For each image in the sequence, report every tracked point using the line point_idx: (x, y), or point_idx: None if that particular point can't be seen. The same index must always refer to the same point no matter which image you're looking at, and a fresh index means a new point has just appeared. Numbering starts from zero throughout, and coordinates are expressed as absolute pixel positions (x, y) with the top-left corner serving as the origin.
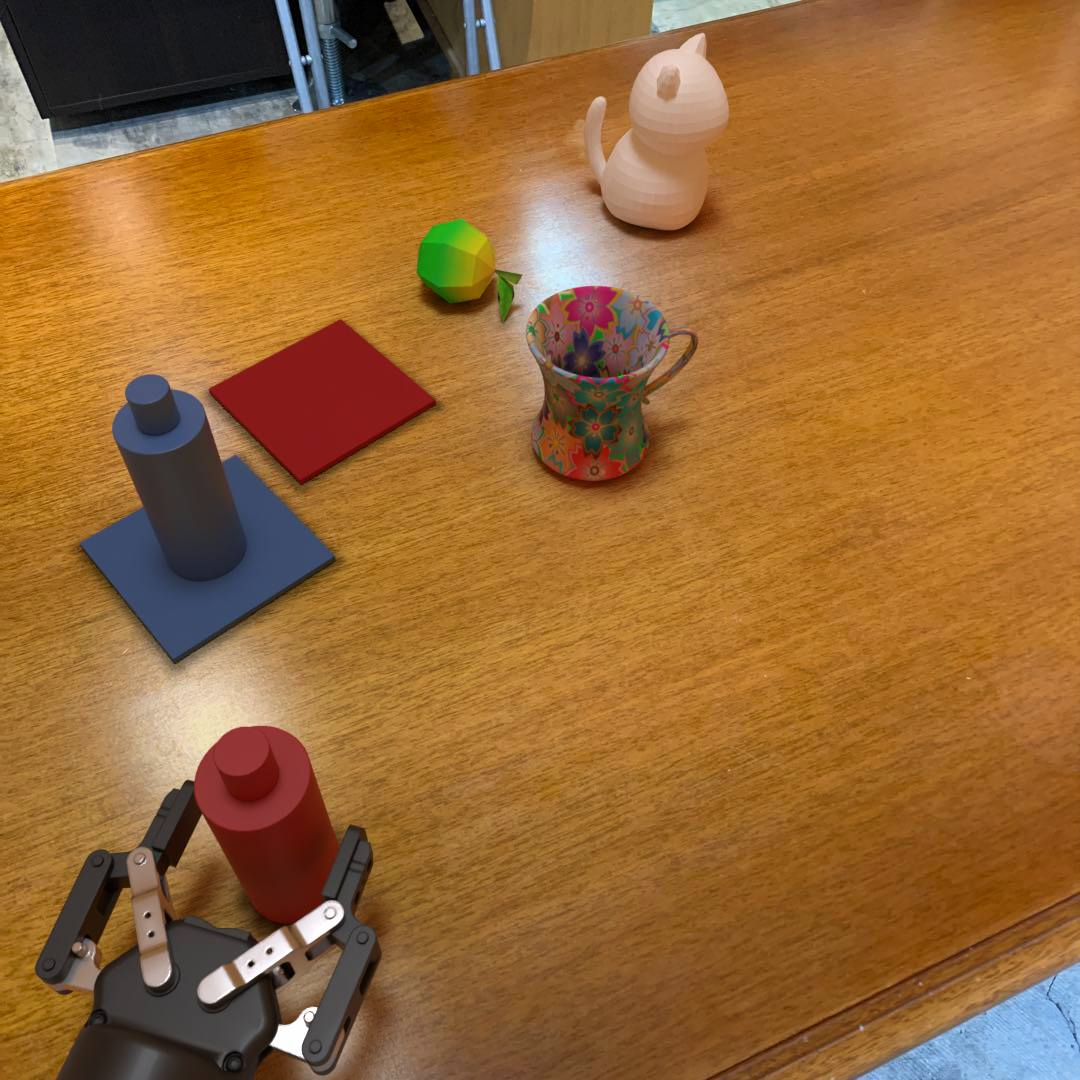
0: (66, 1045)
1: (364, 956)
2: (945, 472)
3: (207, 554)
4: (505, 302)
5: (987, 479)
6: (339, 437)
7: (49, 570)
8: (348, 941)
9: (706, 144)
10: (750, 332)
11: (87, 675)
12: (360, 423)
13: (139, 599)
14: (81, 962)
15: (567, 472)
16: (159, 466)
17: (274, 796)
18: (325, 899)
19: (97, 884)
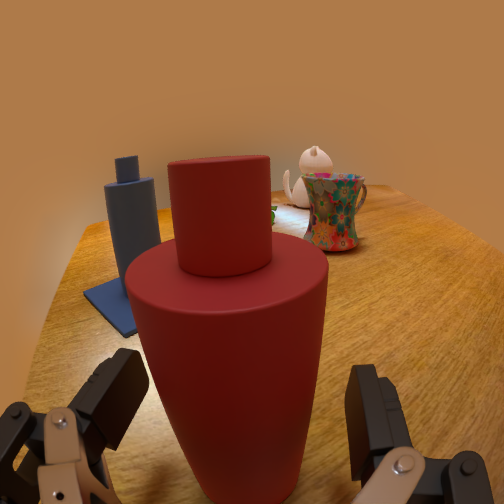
0: None
1: (484, 484)
2: (453, 239)
3: None
4: (272, 217)
5: (464, 239)
6: None
7: (67, 303)
8: (452, 483)
9: (328, 172)
10: (365, 221)
11: (74, 344)
12: None
13: (107, 309)
14: None
15: (330, 246)
16: (125, 195)
17: (276, 269)
18: (374, 456)
19: (10, 438)
